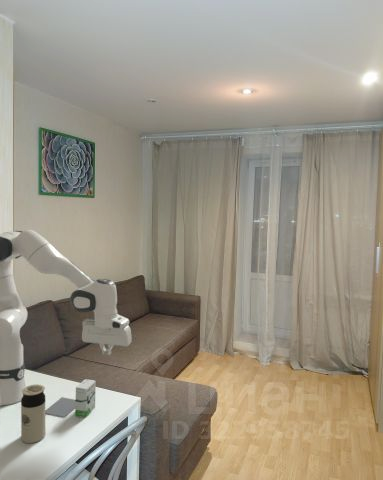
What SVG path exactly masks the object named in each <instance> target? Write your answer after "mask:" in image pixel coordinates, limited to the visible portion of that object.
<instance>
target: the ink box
mask: <svg viewBox="0 0 383 480" xmlns="http://www.w3.org/2000/svg"><path fill="white" fill-rule="evenodd" d="M96 382H97V381H96V380H93V379H87V378H86V379H84V380H82V381H81V382H80V383H79V384H78V385H77V386H76V387H75V400H76V402H75V409H74V411H75V412H74V416H75V417H77V418H84V419H86V418H87V417H88V416H89V415H90V414H91V413H92V411H94V409H95V408H96Z"/></svg>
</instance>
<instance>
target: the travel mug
mask: <svg viewBox="0 0 383 480" xmlns="http://www.w3.org/2000/svg"><path fill="white" fill-rule="evenodd" d="M44 391H45V386H44V385H42V384H30V385H26V387H25V388H24V389H23V390H22V393H23V397H22V399H21V401H20V403H21V404H20V405H21V406H20V412H21V413H20V415H21V417H20V423H21V424H20V429H21V430H20V432H21V436H20V437H21V441H22V442H23V443H26V444H33V443H37V442H39V441H41V440H43V439H44V438H45V436H46V414H45V410H46V394H45V392H44Z"/></svg>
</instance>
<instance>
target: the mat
mask: <svg viewBox="0 0 383 480" xmlns="http://www.w3.org/2000/svg"><path fill="white" fill-rule="evenodd" d="M75 402H76V399H75V398H69V397H64V396H61V397H60V398H59V399H58V400H56V402H54V403H53V404H52V405H50V406H49V407H48V408H46V409H45V415H51V416H55V417H58V418H59V417H60V418H66V417H68V416H69V414H71V412H73V411H75Z"/></svg>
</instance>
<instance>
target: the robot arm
mask: <svg viewBox="0 0 383 480" xmlns="http://www.w3.org/2000/svg"><path fill="white" fill-rule="evenodd" d="M21 257H23V258H24V259H25V261H27V262H28V264H30V265H31V268H33V269H34V270H36V271H38V272H39V273H41V274H45V275H55V276H57V275H58V276H61V277H63V278H65V279H68V280H69V281H70V282H71V283H73V284H74V286H75V287H77V289H76V290H74V291H73V292H72V293H71V294H70V298H69V302H70V305H71V307H72V309H73V310H74V311H75V312H77V313H89V312H93V313H94V318H85V319H84V320H82V332H81V340H82V342H83V343H89V344H98V345H99V347H100V349H101V351H102V352H101V353H102V355H106V356H110V355H111V354H112V349H113V347H114V346H120V347H128V346H129V345H130V344H131V343H132V338H133V337H132V330H131V327H130V326H129V324H130V320H129V318H128V317H126V316H123V315H121V314H119V313H118V309H117V304H118V294H117V285H116V284H115V282H114V281H113V280H111V279H108V278H99V279H96V280H95V279H93V278H92V277H90V276H89V275H88V274H86V273H85V271H83V270H82V269H81V268H79V266H78V265H76V264H75V263H74V262H72V261H71V260H70V259H68V258H67V257H66V256H64V254H62V253H61V252H59V251H58V249H56V248H55V247H54V245H53V244H51V243H50V242H49V241H48V240H47V239H46V238H45V237H43V236H42V235H41V234H39V233H38V232H37V231H35V230H33V229H26V230H23V231H22V230H14V231H8V232H7V231H5V232H2V233H0V407H1V406H7V405H8V406H9V405H12V404H17V403H18V402H21V399H22V397H23V393H22V390H23V389H24V388H25V387H27V385H26V381H25V366H26V365H25V362H24V344H22V340H21V337H20V331H21V328H22V327H23V326H24V325H25V323H26V322H27V319H28V309H27V308H26V307H25V306H24V304H23V301H22V300H21V298H20V296H19V293H18V290H17V286H16V282H15V278H14V274H13V270H12V266H11V264H12V261H13V260H14V259H18V258H21ZM105 345H107V347H108V348H106V346H105Z"/></svg>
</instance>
